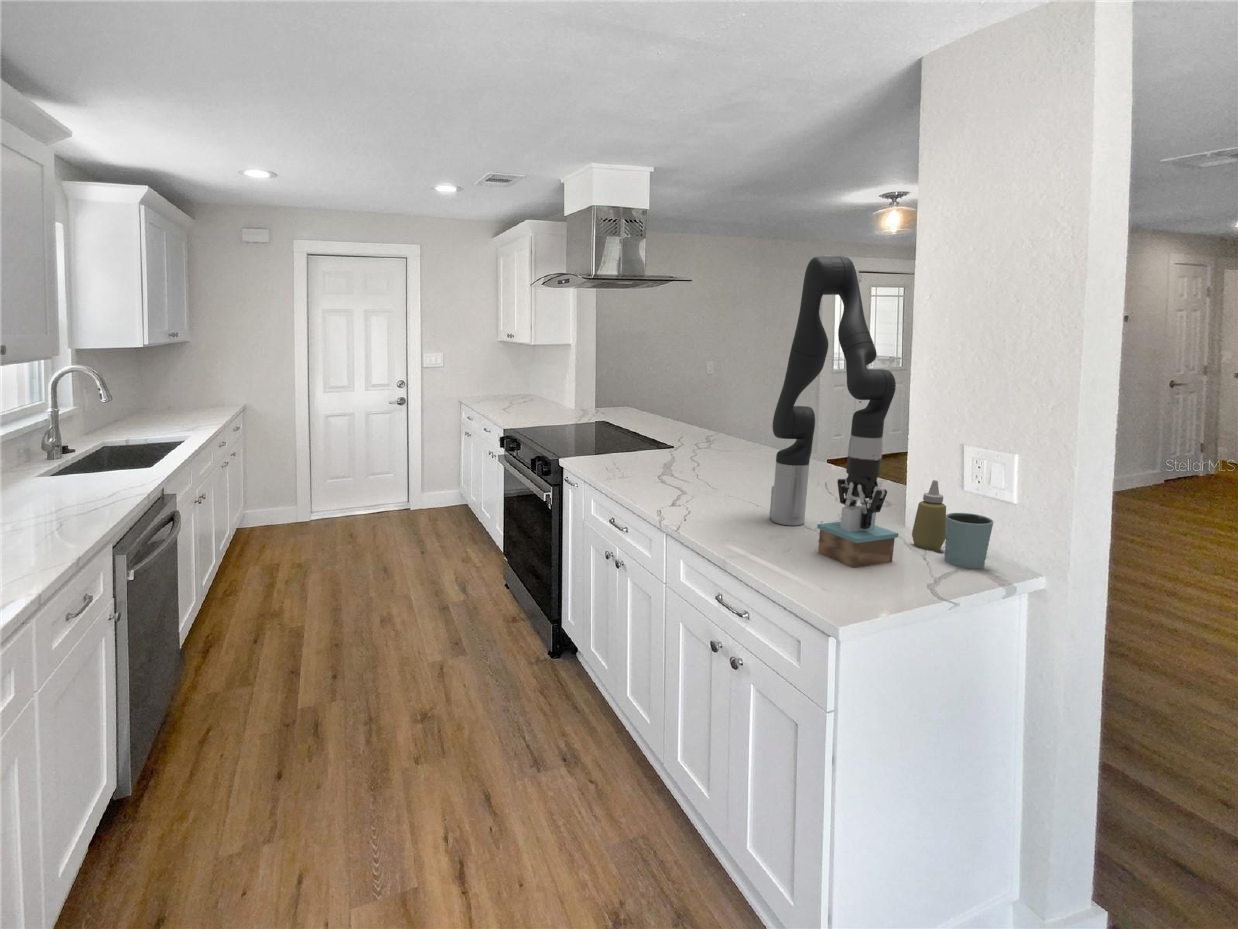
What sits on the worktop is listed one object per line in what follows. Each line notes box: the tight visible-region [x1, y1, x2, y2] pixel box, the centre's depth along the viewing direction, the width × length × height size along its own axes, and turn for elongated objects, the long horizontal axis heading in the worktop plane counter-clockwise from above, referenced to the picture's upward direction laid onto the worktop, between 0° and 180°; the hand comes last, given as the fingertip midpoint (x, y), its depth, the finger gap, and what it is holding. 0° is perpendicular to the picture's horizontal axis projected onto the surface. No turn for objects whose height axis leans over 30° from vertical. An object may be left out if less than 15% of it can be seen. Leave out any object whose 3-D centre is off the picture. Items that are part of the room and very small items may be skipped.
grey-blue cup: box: [944, 512, 995, 570], centre depth 170 cm, size 10×10×12 cm
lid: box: [816, 504, 899, 543], centre depth 171 cm, size 13×13×7 cm
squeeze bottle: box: [911, 479, 947, 553], centre depth 182 cm, size 8×8×18 cm
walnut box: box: [817, 529, 896, 569], centre depth 172 cm, size 12×12×7 cm
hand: (857, 525), depth 171 cm, fingers open, 4 cm apart
